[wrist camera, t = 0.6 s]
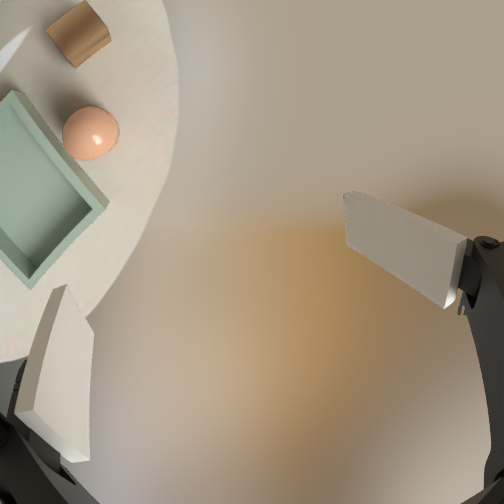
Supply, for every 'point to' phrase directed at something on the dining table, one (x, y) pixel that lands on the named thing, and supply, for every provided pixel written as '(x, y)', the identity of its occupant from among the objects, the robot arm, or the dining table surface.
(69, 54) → the walnut cube
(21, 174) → the tray
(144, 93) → the dining table surface
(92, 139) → the peach rounded smooth part
